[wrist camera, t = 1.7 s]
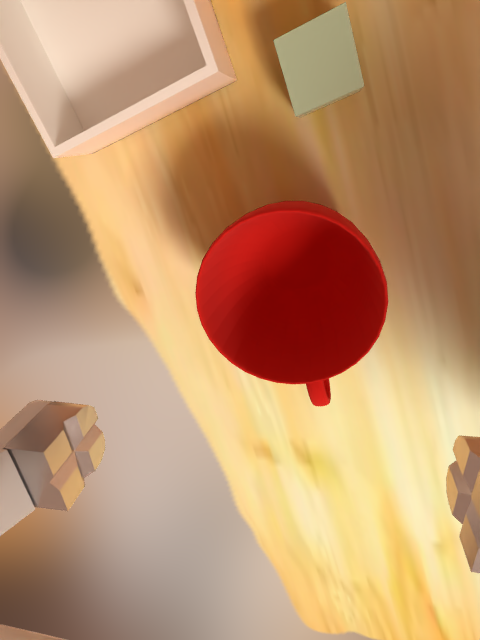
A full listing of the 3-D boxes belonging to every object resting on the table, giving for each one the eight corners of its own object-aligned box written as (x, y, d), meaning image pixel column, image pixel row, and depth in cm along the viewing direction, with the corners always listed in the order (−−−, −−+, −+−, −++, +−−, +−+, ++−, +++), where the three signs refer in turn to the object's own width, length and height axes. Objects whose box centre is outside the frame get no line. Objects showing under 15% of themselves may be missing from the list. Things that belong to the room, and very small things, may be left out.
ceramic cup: (263, 366, 40) (245, 433, 31) (208, 210, 34) (165, 240, 25) (392, 344, 36) (412, 415, 27) (356, 162, 29) (367, 178, 21)
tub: (154, -168, 23) (109, -242, 19) (237, 80, 29) (218, 71, 24) (-2, -39, 28) (-70, -72, 24) (92, 153, 33) (53, 158, 29)
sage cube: (343, 20, 26) (345, 1, 22) (359, 91, 27) (364, 85, 23) (281, 52, 27) (273, 39, 23) (300, 117, 29) (295, 116, 25)
